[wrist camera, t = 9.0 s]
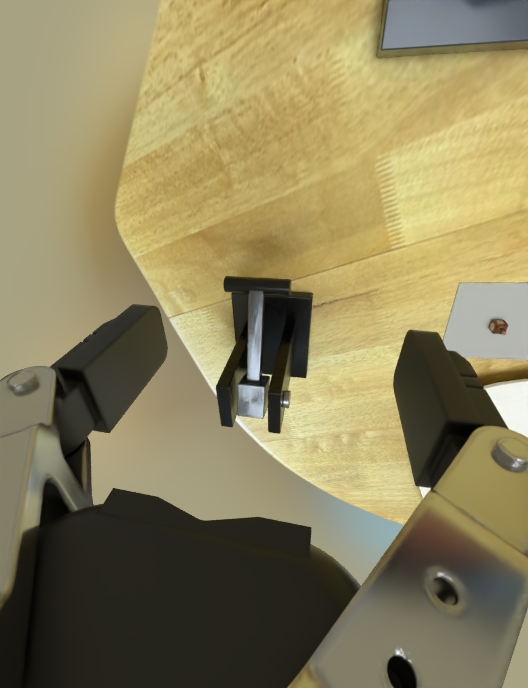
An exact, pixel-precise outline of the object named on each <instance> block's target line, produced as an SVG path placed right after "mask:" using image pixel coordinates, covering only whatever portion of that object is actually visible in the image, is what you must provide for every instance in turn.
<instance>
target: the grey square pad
mask: <svg viewBox="0 0 528 688" xmlns="http://www.w3.org/2000/svg"><path fill="white" fill-rule="evenodd" d="M443 343H444V345H445V347H446V349H447V350H451V351H456V352H457V353H458V354H460V355H461V356H462V357H466V358H490V359H513V360H528V283H460V284H459V288H458V291H457V294H456V298H455V301H454V305H453V308H452V312H451V315H450V319H449V322H448V325H447V329H446V332H445V336H444V339H443Z"/></svg>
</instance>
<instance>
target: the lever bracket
mask: <svg viewBox="0 0 528 688" xmlns="http://www.w3.org/2000/svg"><path fill="white" fill-rule="evenodd" d="M312 297H313V294H312V293H300V292H291V294H290V296H284V295H267V294H265V314H264V339H263V363H262V374H271V375H272V378H271V381H270V385H269V389H268V431H269V432H272V433H280V432H281V427H282V421H283V415H284V410H285V408H289V405H290V396H291V392H290V391H288V387H289V381H290V377H300V378H306V376H307V364H308V351H309V337H310V324H311V310H312ZM232 305H233V317H234V329H235V340H236V345H235V347H234V349H233V351H232V353H231V355H230V358H229V360H228V362H227V364H226V366H225V368H224V370H223V373H222V375H221V377H220V379H219V381H218V383H217V385H216V391H217V399H218V405H219V412H220V419H221V425H222V426H227V427H233V424H234V421H235V419H236V416H237V398H238V383H239V382H240V380H241V379H242V377H243V376H244V374H247V348H248V312H249V293H234V292H232Z"/></svg>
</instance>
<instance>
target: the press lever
mask: <svg viewBox="0 0 528 688" xmlns="http://www.w3.org/2000/svg"><path fill="white" fill-rule="evenodd" d="M224 290H225V292H234V293H249V312H248V348H247V374H244V376H243V377H242V379H241V380H240V382H239V383H238V398H237V415H238V416H245V417H253V418H261V419H263V418H264V416H265V413H266V410H267V408H268V389H269V382H270V377H269V376H262V363H263V339H264V314H265V294H267V295H284V296H290V294H291V280H290V279H273V278H253V277H234V276H226V277H225V279H224Z"/></svg>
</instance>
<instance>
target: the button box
mask: <svg viewBox="0 0 528 688" xmlns="http://www.w3.org/2000/svg"><path fill="white" fill-rule="evenodd" d="M525 48H528V0H384V7H383V15H382V22H381V29H380V36H379V44H378V51H377V57H378V58H381V57H397V56H413V55H429V54H445V53H461V52H477V51H493V50H509V49H525Z"/></svg>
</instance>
